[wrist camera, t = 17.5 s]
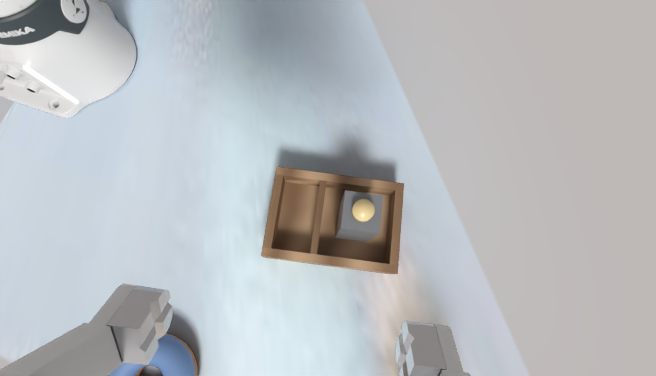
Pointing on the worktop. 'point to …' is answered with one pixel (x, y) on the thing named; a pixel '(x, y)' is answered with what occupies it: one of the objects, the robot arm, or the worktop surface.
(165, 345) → the doughnut
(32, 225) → the worktop surface
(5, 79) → the robot arm
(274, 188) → the caddy
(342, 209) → the push button
